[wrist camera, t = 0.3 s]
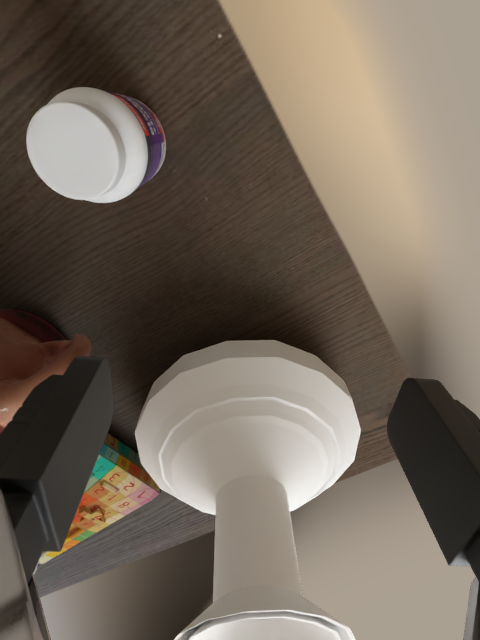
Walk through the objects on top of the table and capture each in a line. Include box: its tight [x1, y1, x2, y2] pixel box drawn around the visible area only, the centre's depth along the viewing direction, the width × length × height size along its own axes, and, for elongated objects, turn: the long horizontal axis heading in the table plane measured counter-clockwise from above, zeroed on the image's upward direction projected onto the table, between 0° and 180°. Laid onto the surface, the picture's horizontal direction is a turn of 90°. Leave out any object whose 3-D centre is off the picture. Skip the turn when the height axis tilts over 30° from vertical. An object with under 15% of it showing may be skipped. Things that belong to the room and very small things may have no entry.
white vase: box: [135, 340, 361, 640], centre depth 28 cm, size 20×20×19 cm
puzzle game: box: [38, 433, 161, 564], centre depth 39 cm, size 12×5×20 cm
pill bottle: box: [26, 87, 166, 203], centre depth 20 cm, size 5×5×10 cm
